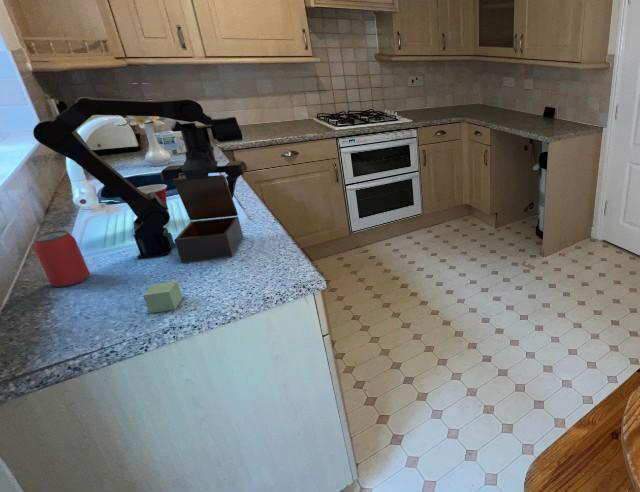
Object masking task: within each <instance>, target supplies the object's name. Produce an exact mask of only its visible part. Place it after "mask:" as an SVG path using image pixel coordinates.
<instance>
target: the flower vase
mask: <svg viewBox="0 0 640 492" xmlns="http://www.w3.org/2000/svg"><path fill="white" fill-rule="evenodd" d="M123 118H124V119H125V120H126V121H127V123H126V124H124V123H123V127H125V126H127V125H130V126H136V125H138V126H139V128H140V129H144V132H145V134H146V137H147V141H148V151H147V152H146V153H145V155H144V160H145V162H147V163H149V164H151V165H150V166H153V167H160V166H165V165H168V164H169V161H170V160H171V158H172V155H170V154H169V153H168V152H167V151H165V150H164V149H162V148H161V146H160V145H159V143H158V141H157V138H156V135H155V133H156V132H155V125H157V126H159V127H160V126H161V125H165V122H166V123H167V124H168V125H169V126H170V128H171V127H172V126H173V122H174V120H173V119H169V118H164V117H157V116H125V117H123ZM164 121H165V122H164Z"/></svg>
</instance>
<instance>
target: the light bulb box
mask: <svg viewBox="0 0 640 492" xmlns="http://www.w3.org/2000/svg"><path fill="white" fill-rule="evenodd" d="M155 135H156V138H157V141H158V143H159V145H160V146H161V148H162V149H164V150H165V151H167V152H168V153H169V154H170V155H171V156H173V155H179V154H185V152H187V151H186V148H185V144H184V141H183V137H182V134H181V131H177V132H173V131H172V130H167V131H160V132H155Z"/></svg>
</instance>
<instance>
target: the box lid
mask: <svg viewBox="0 0 640 492" xmlns="http://www.w3.org/2000/svg"><path fill="white" fill-rule="evenodd" d="M173 182H174V183H173V184H174V186H175V188H176V192H177V194H178V195H179V198H180V200H181V202H182V205H183V207H184V209H185V211H186V214H187V216H188V219H189V221H190V222H191V221H200V220H210V219H220V218H229V217H239V213H238V210H237V207H236V204H235V202H234V199H233V198H232V196H231V193H230V190H229V187H228V182H227V180H226V176H225V174H218V175H208V177H207V178H205V179H192V180H187V179H186V178H175V179H173Z"/></svg>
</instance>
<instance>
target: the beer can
mask: <svg viewBox="0 0 640 492" xmlns="http://www.w3.org/2000/svg"><path fill="white" fill-rule="evenodd" d="M33 241H34V242H33V250H34V252H35V254H36V256H37V258H38V260H39V262H40V265H41V267H42V269H43V271H44V273H45V275H46V278H47V279H48V282H49V284H50V285H51V286H53V287H57V288H62V287H68V286H72V285H73V286H74V285H76V284H79V283H81V282H84V281H85V280H87V279H88V278H89V276H90V275H91V272H90V270H89V268H88V265H87V263H86V261H85V259H84V256H83V254H82V252H81V249H80V247H79V245H78V242H77V240H76V238H75V237H74V236H73V235H72V234H71V233H70V231H68V230H63V229H62V230H54V231H53V230H52V231H49V232H44V233H42V234H39V235H37V236H35V237H34V238H33Z"/></svg>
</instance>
